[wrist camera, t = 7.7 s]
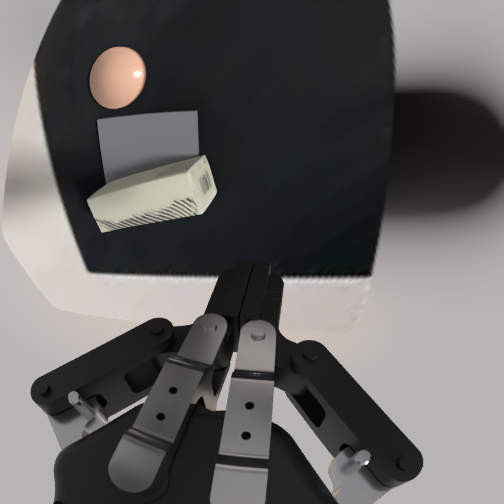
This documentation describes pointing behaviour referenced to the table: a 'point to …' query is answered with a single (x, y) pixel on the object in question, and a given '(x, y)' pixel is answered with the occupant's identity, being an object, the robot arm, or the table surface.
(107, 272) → the table surface
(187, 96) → the table surface
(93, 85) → the glossy peach dome
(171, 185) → the box
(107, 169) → the mat
